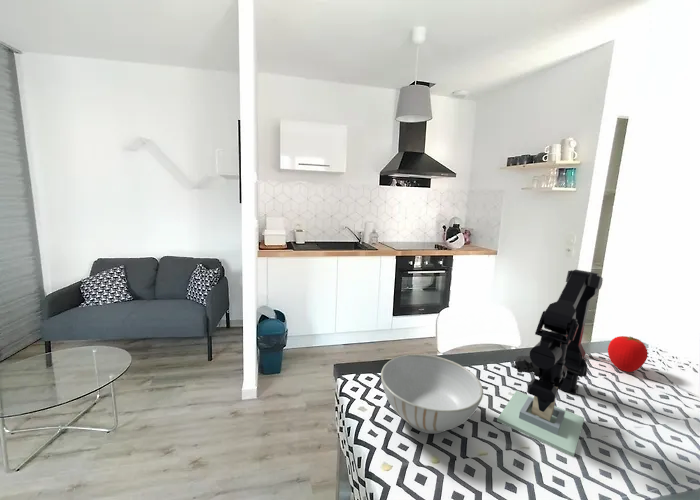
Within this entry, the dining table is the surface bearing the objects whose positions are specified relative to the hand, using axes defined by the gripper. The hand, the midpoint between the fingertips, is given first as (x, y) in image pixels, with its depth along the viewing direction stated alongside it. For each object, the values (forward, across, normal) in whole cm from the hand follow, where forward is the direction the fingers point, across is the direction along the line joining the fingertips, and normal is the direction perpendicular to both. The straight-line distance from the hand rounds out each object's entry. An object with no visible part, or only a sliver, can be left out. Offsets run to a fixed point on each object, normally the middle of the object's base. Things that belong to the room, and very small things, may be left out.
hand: (543, 406), depth 93 cm
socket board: (+4, 0, 0) cm, 4 cm away
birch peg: (+2, 0, 0) cm, 2 cm away
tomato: (+5, -55, +16) cm, 57 cm away
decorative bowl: (+5, +22, -24) cm, 33 cm away
